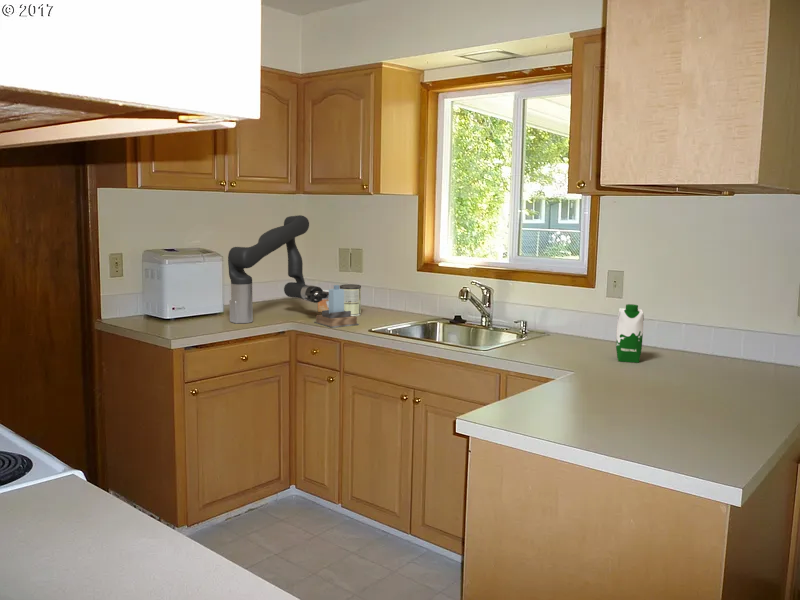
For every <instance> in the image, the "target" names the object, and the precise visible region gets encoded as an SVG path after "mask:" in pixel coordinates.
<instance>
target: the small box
mask: <svg viewBox="0 0 800 600" xmlns="http://www.w3.org/2000/svg"><path fill="white" fill-rule="evenodd" d="M322 290H323V291H325V292H329V289H322ZM327 294H328V293H327ZM327 298H328V296H327ZM323 310H329V300H328V299H324V300H322V301H320V302H318V303H317V313H322V311H323Z"/></svg>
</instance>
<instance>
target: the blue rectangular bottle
mask: <svg viewBox="0 0 800 600" xmlns="http://www.w3.org/2000/svg"><path fill="white" fill-rule="evenodd" d="M328 290H329V314H330V313H332V312H342V311H344V289H340V285H339V284H336V285H335V284H334V285H333V288H329V289H328Z"/></svg>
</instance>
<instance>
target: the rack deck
mask: <svg viewBox="0 0 800 600" xmlns="http://www.w3.org/2000/svg"><path fill="white" fill-rule="evenodd" d="M315 317H316V318H315V320H316V321H314V322H313V323H314V324H317V325H320V326H324V327H328V328H331V329H333V328H334V329H335V328H344V327H351V326H352V327H353V326H359V325H360V323H357V322H358V321H357V320H358V316H351V311H342V312H332V313H330V314H329V310H323V311H322V312H321V314H317V315H316V316H315Z"/></svg>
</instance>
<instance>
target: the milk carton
mask: <svg viewBox="0 0 800 600" xmlns="http://www.w3.org/2000/svg"><path fill="white" fill-rule="evenodd" d="M644 318H645V316H644V312H643V309H641V308H639V305H637V304H630V303H628V304H625V308H623V307H622V308H621V307H619V310H618V313H617V321H616V335H615V336H616V337H615V348H616V349H615V350H616V357H617V362H622V363H636V364H639V363H640V359H641V356H642V355H641V353H642V349H643V335H644V320H645V319H644Z"/></svg>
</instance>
